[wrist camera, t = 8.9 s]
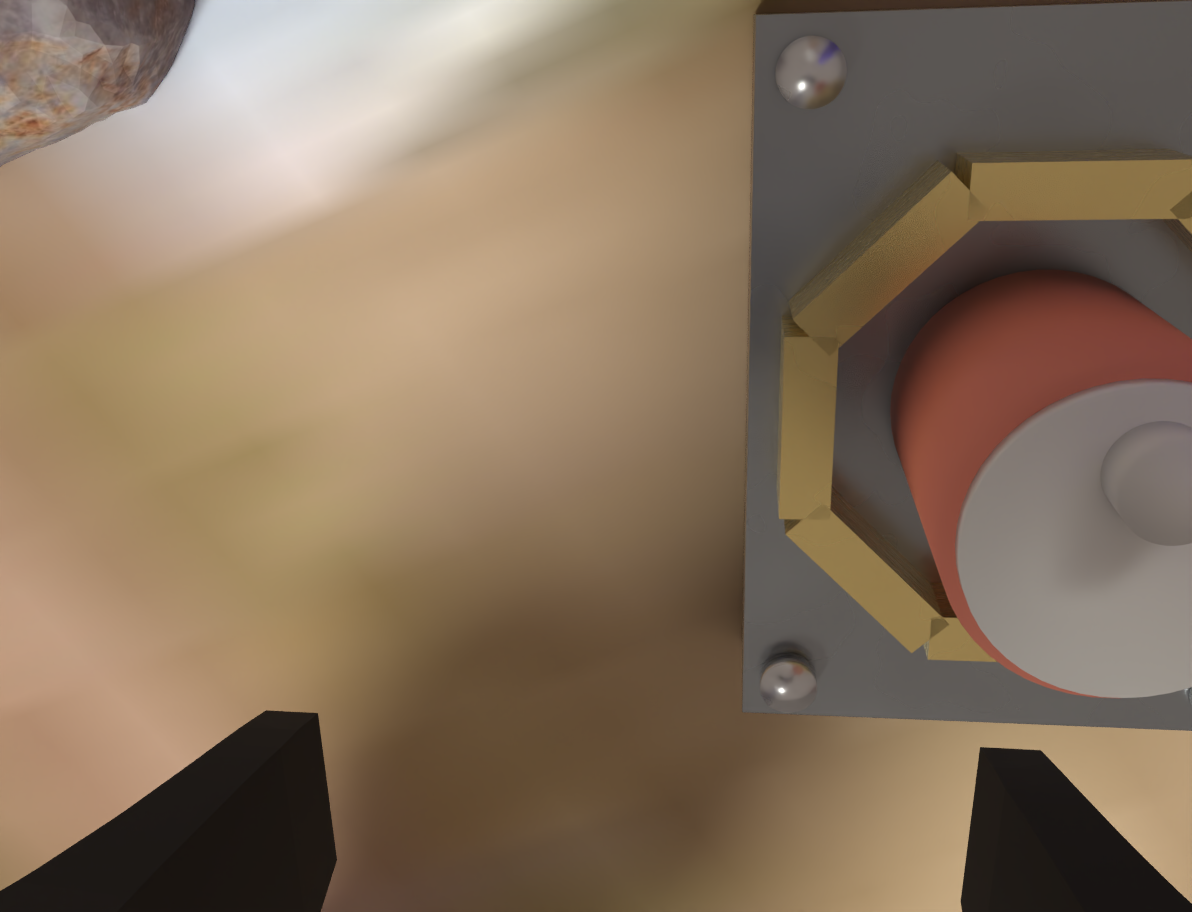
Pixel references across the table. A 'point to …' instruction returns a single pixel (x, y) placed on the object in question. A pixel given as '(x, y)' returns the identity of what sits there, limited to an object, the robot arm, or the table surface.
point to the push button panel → (928, 309)
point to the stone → (80, 64)
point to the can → (1057, 479)
